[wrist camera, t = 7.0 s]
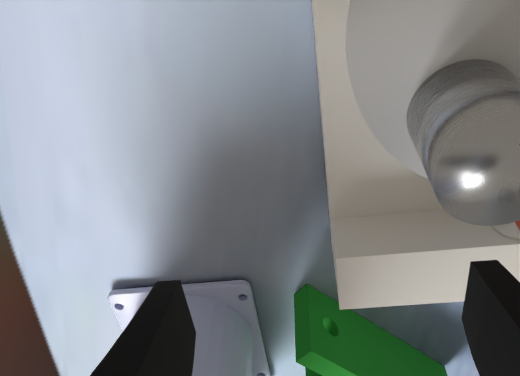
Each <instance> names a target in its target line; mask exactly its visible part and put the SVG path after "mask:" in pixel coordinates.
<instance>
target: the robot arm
mask: <svg viewBox="0 0 520 376" xmlns="http://www.w3.org/2000/svg"><path fill="white" fill-rule="evenodd" d="M241 294H244V295H245V296H242V295H241ZM108 301H109V304H110V306H111V308H112V310H113V312H114V314H115V317H116V319H117V321H118V323H119V325H120V327H121V330H122V334H121V335H120V337H119V338H118V339H117V341H116V342H115V344H114V345H113V346H112V348H111V349H110V350H109V352H108V353H107V355H106V356H105V357H104V358H103V360H102V361H101V362H100V364H99V365H98V366H97V367H96V369H95V370H94V371H93V372H92V374H91V375H90V376H270V371H269V367H268V362H267V358H266V353H265V349H264V344H263V339H262V335H261V330H260V326H259V321H258V317H257V312H256V307H255V303H254V298H253V294H252V289H251V285H250V283H248V282H247V281H245V280H233V281H220V282H207V283H194V284H181V281H180V280H175V281H160V282H157V283H156V284H155V285H154V286H153V287H142V288H129V289H116V290H112V291H111V292H110V293H109V296H108ZM462 321H463V325H464V329H465V332H466V336H467V340H468V343H469V347H470V350H471V354H472V357H473V360H474V362H475V365H476V367H477V370H478V372H479V375H480V376H520V282H519V281H518V280H517V279H516V278H515V277H514V276H513V275H512V274H511V273H510V272H509V271H508V270H507V269H506V268H505V267H504V266H503V265H502V264H501V263H500V262H499V261H498V260H486V261H471V262H470V269H469V275H468V281H467V288H466V294H465V301H464V307H463V313H462Z"/></svg>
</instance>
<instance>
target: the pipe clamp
mask: <svg viewBox="0 0 520 376" xmlns="http://www.w3.org/2000/svg"><path fill="white" fill-rule="evenodd" d="M294 308H295V345H296V362H297V363H299V364H301V365H303V366H305V367H306V376H447V373H446V370H445V367H444V365H442V364H440V363H439V362H437V361H435V360H434V359H432V358H430V357H429V356H427V355H425V354H424V353H422V352H420V351H419V350H417V349H415V348H414V347H412V346H410V345H409V344H407V343H405V342H404V341H402V340H400V339H399V338H397V337H395V336H394V335H392V334H390V333H389V332H387V331H385V330H384V329H382V328H380V327H379V326H377V325H375V324H374V323H372V322H370V321H369V320H367V319H365V318H364V317H362V316H360V315H359V314H357V313H355V312H354V311H352V310H350V309H344V310H340V309H339V302H337V301H335V300H334V299H332V298H330V297H329V296H327V295H325V294H324V293H322V292H320V291H319V290H317V289H315V288H314V287H312V286H310V285H309V284H306V285H305V286H304V287H303V288H302V289H300V290H299V291H298V292H297V293H296V294H294Z"/></svg>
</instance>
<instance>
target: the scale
mask: <svg viewBox="0 0 520 376" xmlns="http://www.w3.org/2000/svg"><path fill="white" fill-rule="evenodd" d="M311 3H312V15H313V27H314V39H315V51H316V63H317V75H318V88H319V100H320V112H321V124H322V136H323V148H324V160H325V172H326V185H327V197H328V209H329V221H330V233H331V244H332V252H333V260H334V268H335V276H336V285H337V293H338V301H339V309H340V310H344V309H359V308H374V307H388V306H403V305H418V304H432V303H447V302H462V301H465V294H466V288H467V281H468V275H469V269H470V262H471V261H486V260H498V261H499V262H500V263H501V264H502V265H503V266H504V267H505V268H506V269H507V270H508V271H509V272H510V273H511V274H512V275H513V276H514V277H515V278H516V279H517V280H518V281H519V282H520V220H519V221H516V222H512V223H509V224H503V225H496V226H480V225H473V224H469V223H465V222H463V221H460V220H458V219H456V218H454V217H453V216H451V215H450V214H449V213H447V212H446V211H445V210H444V209H443V207H442V206H441V205H440V203H439V201H438V199H437V197H436V195H435V193H434V190H433V188H432V186H431V183H430V181H429V179H428V177H427V174H426V172H425V170H424V167H423V165H422V163H421V161H420V158H419V156H418V154H417V151H416V149H415V147H414V145H413V142H412V140H411V138H410V135H409V133H408V129H407V122H406V120H407V111H408V107H409V104H410V101H411V99H412V97H413V95H414V94H415V92H416V91H417V89H418V88H419V87H420V85H421V84H422V83H423V82H424V81H425V80H426V79H427V78H428V77H430V76H431V75H432V74H433V73H435V72H436V71H438V70H440V69H441V68H443V67H445V66H448V65H450V64H453V63H456V62H459V61H463V60H471V59H482V60H488V61H492V62H495V63H498V64H500V65H502V66H503V67H505V68H506V69H508V70H509V71H510V72H511V73H512V74H513V75H514V76H515V77H516V78H517V79H518V80H519V81H520V0H311Z"/></svg>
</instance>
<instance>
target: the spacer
mask: <svg viewBox="0 0 520 376" xmlns="http://www.w3.org/2000/svg"><path fill="white" fill-rule="evenodd" d="M406 122H407V129H408V133H409V135H410V138H411V140H412V142H413V145H414V147H415V149H416V151H417V154H418V156H419V158H420V161H421V163H422V165H423V167H424V170H425V172H426V174H427V177H428V179H429V181H430V183H431V186H432V188H433V190H434V193H435V195H436V197H437V199H438V201H439V203H440V205H441V206H442V207H443V209H444V210H445V211H446V212H447V213H449V214H450V215H451V216H453V217H454V218H456V219H458V220H460V221H463V222H465V223H469V224H473V225H480V226H496V225H503V224H509V223H512V222H516V221H519V220H520V81H519V80H518V79H517V78H516V77H515V76H514V75H513V74H512V73H511V72H510V71H509V70H508V69H506V68H505V67H503V66H502V65H500V64H498V63H495V62H492V61H488V60H482V59H471V60H463V61H459V62H456V63H453V64H450V65H448V66H445V67H443V68H441V69H440V70H438V71H436V72H435V73H433V74H432V75H431V76H430V77H428V78H427V79H426V80H425V81H424V82H423V83H422V84H421V85H420V87H419V88H418V89H417V91H416V92H415V94H414V95H413V97H412V99H411V101H410V104H409V107H408V111H407V120H406Z"/></svg>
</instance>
